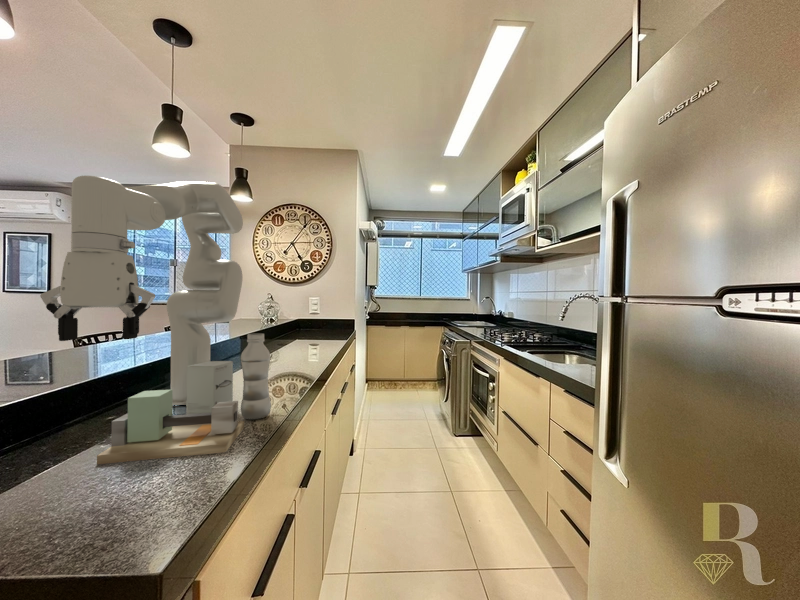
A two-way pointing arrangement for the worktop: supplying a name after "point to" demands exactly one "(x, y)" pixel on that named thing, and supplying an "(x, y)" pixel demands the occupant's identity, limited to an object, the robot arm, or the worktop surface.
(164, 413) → the pale green block
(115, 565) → the worktop surface
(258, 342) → the plastic bottle
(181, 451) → the cable board
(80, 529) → the worktop surface
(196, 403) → the supplement box
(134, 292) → the robot arm
